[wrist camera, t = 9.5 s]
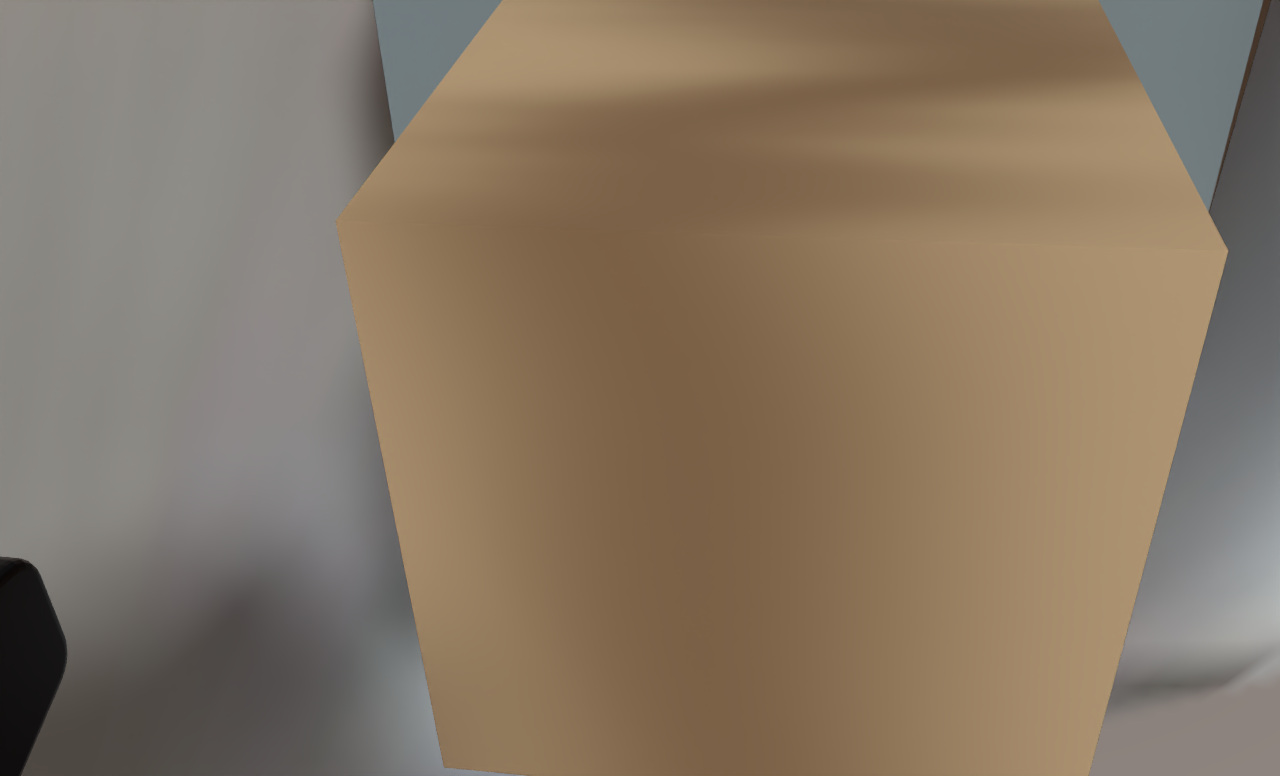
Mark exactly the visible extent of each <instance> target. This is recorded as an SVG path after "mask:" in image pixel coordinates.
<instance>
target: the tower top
mask: <svg viewBox="0 0 1280 776" xmlns="http://www.w3.org/2000/svg"><path fill="white" fill-rule="evenodd" d="M501 1H502V0H373V5H374V12H375V18H376V25H377V31H378V38H379V44H380V51H381V57H382V63H383V70H384V76H385V83H386V89H387V96H388V102H389V109H390V115H391V122H392V128H393V135H394V141H395V142H396V140H397V139H398V138H399V136H400V135H401V134H402V132H403V131H404V130H405V128H406V127H407V126H408V124H409V123H410V122H411V120H412V119H413V118H414V116H415V115H416V114H417V113H418V111H419V110H420V109H421V107H422V106H423V105H424V103H425V102H426V101H427V99H428V98H429V97H430V95H431V94H432V93H433V91H434V90H435V89H436V87H437V86H438V85H439V83H440V82H441V81H442V79H443V78H444V77H445V75H446V74H447V73H448V72H449V70H450V69H451V68H452V66H453V65H454V64H455V62H456V61H457V60H458V58H459V57H460V56H461V54H462V53H463V52H464V50H465V49H466V48H467V46H468V45H469V44H470V42H471V41H472V40H473V38H474V37H475V36H476V34H477V33H478V32H479V31H480V29H481V28H482V27H483V25H484V24H485V23H486V21H487V20H488V19H489V17H490V16H491V15H492V13H493V12H494V11H495V9H496V8H497V7H498V5H499V4H500V3H501ZM1099 2H1100V4H1101V6H1102V8H1103V10H1104V12H1105V14H1106V16H1107V18H1108V20H1109V22H1110V24H1111V26H1112V27H1113V29H1114V31H1115V33H1116V35H1117V37H1118V39H1119V41H1120V43H1121V45H1122V47H1123V49H1124V51H1125V53H1126V54H1127V56H1128V58H1129V60H1130V62H1131V64H1132V66H1133V68H1134V70H1135V72H1136V74H1137V76H1138V78H1139V80H1140V81H1141V83H1142V85H1143V87H1144V89H1145V91H1146V93H1147V95H1148V97H1149V99H1150V101H1151V103H1152V105H1153V106H1154V108H1155V110H1156V112H1157V114H1158V116H1159V118H1160V120H1161V122H1162V124H1163V126H1164V128H1165V130H1166V132H1167V133H1168V135H1169V137H1170V139H1171V141H1172V143H1173V145H1174V147H1175V149H1176V151H1177V153H1178V155H1179V157H1180V159H1181V160H1182V162H1183V164H1184V166H1185V168H1186V170H1187V172H1188V174H1189V176H1190V178H1191V180H1192V182H1193V184H1194V186H1195V187H1196V189H1197V191H1198V193H1199V195H1200V197H1201V199H1202V201H1203V203H1204V205H1205V207H1206V209H1207V211H1208V212H1209V208H1210V205H1211V201H1212V197H1213V193H1214V189H1215V185H1216V181H1217V177H1218V174H1219V170H1220V166H1221V162H1222V158H1223V154H1224V150H1225V146H1226V143H1227V139H1228V135H1229V131H1230V127H1231V123H1232V119H1233V115H1234V112H1235V108H1236V104H1237V100H1238V96H1239V92H1240V88H1241V84H1242V81H1243V77H1244V73H1245V69H1246V65H1247V61H1248V57H1249V54H1250V50H1251V46H1252V42H1253V38H1254V34H1255V30H1256V26H1257V23H1258V19H1259V15H1260V11H1261V7H1262V3H1263V0H1099Z"/></svg>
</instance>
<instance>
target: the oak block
mask: <svg viewBox="0 0 1280 776" xmlns="http://www.w3.org/2000/svg"><path fill="white" fill-rule="evenodd" d="M336 225H337V230H338V235H339V240H340V245H341V251H342V256H343V261H344V266H345V271H346V276H347V281H348V286H349V291H350V296H351V301H352V306H353V311H354V316H355V321H356V326H357V331H358V336H359V341H360V346H361V351H362V356H363V361H364V367H365V372H366V377H367V382H368V387H369V392H370V397H371V402H372V407H373V412H374V417H375V422H376V427H377V432H378V437H379V442H380V447H381V452H382V457H383V462H384V467H385V472H386V477H387V483H388V488H389V493H390V498H391V503H392V508H393V513H394V518H395V523H396V528H397V533H398V538H399V543H400V548H401V553H402V558H403V563H404V568H405V573H406V578H407V583H408V588H409V593H410V599H411V604H412V609H413V614H414V619H415V624H416V629H417V634H418V639H419V644H420V649H421V654H422V659H423V664H424V669H425V674H426V679H427V684H428V689H429V694H430V699H431V704H432V709H433V714H434V720H435V725H436V730H437V735H438V740H439V745H440V750H441V755H442V760H443V765H444V767H446V768H456V769H466V770H477V771H487V772H497V773H507V774H518V775H528V776H1089V772H1090V769H1091V765H1092V761H1093V758H1094V754H1095V750H1096V746H1097V742H1098V739H1099V735H1100V731H1101V728H1102V724H1103V720H1104V716H1105V713H1106V709H1107V705H1108V701H1109V698H1110V694H1111V690H1112V686H1113V683H1114V679H1115V675H1116V671H1117V667H1118V664H1119V660H1120V656H1121V652H1122V649H1123V645H1124V641H1125V637H1126V634H1127V630H1128V626H1129V622H1130V619H1131V615H1132V611H1133V607H1134V604H1135V600H1136V596H1137V592H1138V589H1139V585H1140V581H1141V577H1142V574H1143V570H1144V566H1145V562H1146V559H1147V555H1148V551H1149V547H1150V544H1151V540H1152V536H1153V532H1154V529H1155V525H1156V521H1157V517H1158V514H1159V510H1160V506H1161V502H1162V499H1163V495H1164V491H1165V487H1166V484H1167V480H1168V476H1169V472H1170V468H1171V465H1172V461H1173V457H1174V453H1175V450H1176V446H1177V442H1178V438H1179V435H1180V431H1181V427H1182V423H1183V420H1184V416H1185V412H1186V408H1187V405H1188V401H1189V397H1190V393H1191V390H1192V386H1193V382H1194V378H1195V375H1196V371H1197V367H1198V363H1199V360H1200V356H1201V352H1202V348H1203V345H1204V341H1205V337H1206V333H1207V330H1208V326H1209V322H1210V318H1211V315H1212V311H1213V307H1214V303H1215V300H1216V296H1217V292H1218V288H1219V285H1220V281H1221V277H1222V273H1223V269H1224V266H1225V262H1226V258H1227V254H1228V249H1227V247H1226V245H1225V243H1224V241H1223V239H1222V238H1221V236H1220V234H1219V232H1218V230H1217V228H1216V226H1215V224H1214V222H1213V220H1212V218H1211V216H1210V214H1209V212H1208V211H1207V209H1206V207H1205V205H1204V203H1203V201H1202V199H1201V197H1200V195H1199V193H1198V191H1197V189H1196V187H1195V186H1194V184H1193V182H1192V180H1191V178H1190V176H1189V174H1188V172H1187V170H1186V168H1185V166H1184V164H1183V162H1182V160H1181V159H1180V157H1179V155H1178V153H1177V151H1176V149H1175V147H1174V145H1173V143H1172V141H1171V139H1170V137H1169V135H1168V133H1167V132H1166V130H1165V128H1164V126H1163V124H1162V122H1161V120H1160V118H1159V116H1158V114H1157V112H1156V110H1155V108H1154V106H1153V105H1152V103H1151V101H1150V99H1149V97H1148V95H1147V93H1146V91H1145V89H1144V87H1143V85H1142V83H1141V81H1140V80H1139V78H1138V76H1137V74H1136V72H1135V70H1134V68H1133V66H1132V64H1131V62H1130V60H1129V58H1128V56H1127V54H1126V53H1125V51H1124V49H1123V47H1122V45H1121V43H1120V41H1119V39H1118V37H1117V35H1116V33H1115V31H1114V29H1113V27H1112V26H1111V24H1110V22H1109V20H1108V18H1107V16H1106V14H1105V12H1104V10H1103V8H1102V6H1101V4H1100V2H1099V0H502V1H501V3H500V4H499V5H498V7H497V8H496V9H495V11H494V12H493V13H492V15H491V16H490V17H489V19H488V20H487V21H486V23H485V24H484V25H483V27H482V28H481V29H480V31H479V32H478V33H477V34H476V36H475V37H474V38H473V40H472V41H471V42H470V44H469V45H468V46H467V48H466V49H465V50H464V52H463V53H462V54H461V56H460V57H459V58H458V60H457V61H456V62H455V64H454V65H453V66H452V68H451V69H450V70H449V72H448V73H447V74H446V75H445V77H444V78H443V79H442V81H441V82H440V83H439V85H438V86H437V87H436V89H435V90H434V91H433V93H432V94H431V95H430V97H429V98H428V99H427V101H426V102H425V103H424V105H423V106H422V107H421V109H420V110H419V111H418V113H417V114H416V115H415V116H414V118H413V119H412V120H411V122H410V123H409V124H408V126H407V127H406V128H405V130H404V131H403V132H402V134H401V135H400V136H399V138H398V139H397V140H396V142H395V143H394V144H393V146H392V147H391V148H390V150H389V151H388V152H387V154H386V155H385V156H384V158H383V159H382V160H381V161H380V163H379V164H378V165H377V167H376V168H375V169H374V171H373V172H372V173H371V175H370V176H369V177H368V179H367V180H366V181H365V183H364V184H363V185H362V187H361V188H360V189H359V191H358V192H357V193H356V195H355V196H354V197H353V199H352V200H351V201H350V202H349V204H348V205H347V206H346V208H345V209H344V210H343V212H342V213H341V214H340V216H339V217H338V218H337V220H336Z"/></svg>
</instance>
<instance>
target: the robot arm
mask: <svg viewBox="0 0 1280 776" xmlns="http://www.w3.org/2000/svg"><path fill="white" fill-rule="evenodd" d="M66 663H67V644H66V639H65V636H64V633H63V631H62V628H61V626H60V623H59V621H58V618H57V616H56V613H55V611H54V608H53V606H52V603H51V600H50V598H49V595H48V593H47V590H46V588H45V585H44V583H43V580H42V578H41V575H40V573H39V572H38V570H37V568H36V567H35V566H33V565H32V564H31V563H30V562H29V561H26V560H24V559H20V558H10V557H0V776H21V774H22V772H23V769H24V767H25V765H26V762H27V760H28V758H29V755H30V753H31V751H32V748H33V746H34V744H35V741H36V739H37V737H38V734H39V732H40V730H41V727H42V725H43V723H44V720H45V718H46V716H47V713H48V711H49V709H50V706H51V704H52V701H53V699H54V697H55V694H56V692H57V690H58V687H59V685H60V683H61V680H62V678H63V675H64V671H65V667H66Z"/></svg>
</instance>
